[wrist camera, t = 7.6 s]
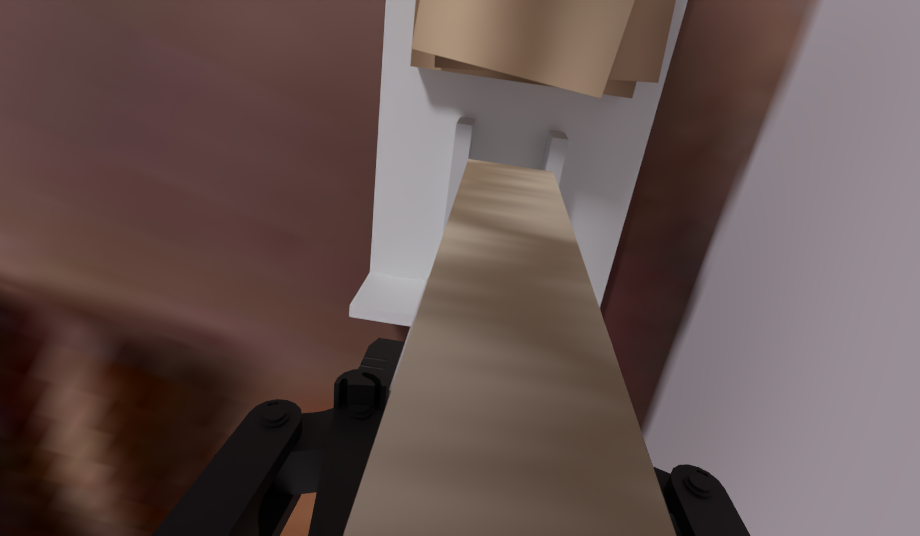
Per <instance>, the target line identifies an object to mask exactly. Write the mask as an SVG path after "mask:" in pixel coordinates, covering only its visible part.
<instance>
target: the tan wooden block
mask: <svg viewBox="0 0 920 536" xmlns="http://www.w3.org/2000/svg"><path fill="white" fill-rule="evenodd" d="M343 536H676V533H675V530H674V527H673V524H672V521H671V518H670V515H669V513H668V510H667V507H666V504H665V501H664V498H663V495H662V492H661V489H660V486H659V483H658V480H657V477H656V474H655V471H654V468H653V465H652V462H651V459H650V457H649V453H648V450H647V447H646V444H645V441H644V438H643V436H642V433H641V430H640V427H639V424H638V421H637V418H636V415H635V412H634V409H633V406H632V403H631V400H630V397H629V394H628V391H627V388H626V385H625V382H624V379H623V376H622V373H621V370H620V367H619V364H618V361H617V359H616V356H615V353H614V350H613V347H612V344H611V341H610V338H609V335H608V332H607V329H606V326H605V323H604V320H603V317H602V314H601V311H600V308H599V305H598V302H597V299H596V296H595V293H594V290H593V287H592V285H591V282H590V279H589V276H588V273H587V270H586V267H585V264H584V261H583V258H582V255H581V252H580V249H579V246H578V243H577V240H576V237H575V234H574V231H573V228H572V225H571V222H570V219H569V216H568V213H567V210H566V208H565V205H564V202H563V199H562V196H561V193H560V190H559V187H558V184H557V181H556V178H555V175H554V172H552V171H545V170H539V169H532V168H525V167H519V166H512V165H505V164H499V163H492V162H485V161H479V160H472V159H468V161H467V164H466V167H465V170H464V173H463V176H462V179H461V182H460V185H459V188H458V191H457V194H456V197H455V200H454V203H453V206H452V209H451V212H450V215H449V218H448V221H447V224H446V227H445V230H444V233H443V236H442V239H441V242H440V245H439V248H438V251H437V254H436V257H435V261H434V264H433V267H432V270H431V273H430V276H429V279H428V282H427V285H426V288H425V291H424V294H423V297H422V300H421V303H420V306H419V309H418V312H417V315H416V318H415V321H414V324H413V327H412V330H411V333H410V336H409V339H408V342H407V345H406V348H405V351H404V354H403V357H402V360H401V363H400V366H399V369H398V372H397V375H396V378H395V381H394V384H393V387H392V390H391V393H390V396H389V399H388V402H387V405H386V408H385V411H384V414H383V417H382V420H381V423H380V426H379V429H378V432H377V435H376V438H375V441H374V444H373V447H372V450H371V453H370V456H369V459H368V462H367V465H366V468H365V471H364V474H363V477H362V480H361V483H360V486H359V489H358V492H357V495H356V498H355V501H354V504H353V507H352V510H351V513H350V516H349V519H348V522H347V525H346V528H345V531H344V534H343Z"/></svg>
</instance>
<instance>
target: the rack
mask: <svg viewBox="0 0 920 536" xmlns="http://www.w3.org/2000/svg"><path fill="white" fill-rule="evenodd" d="M415 2H416V0H386V9H385V26H384V43H383V60H382V77H381V94H380V111H379V128H378V145H377V162H376V179H375V196H374V213H373V230H372V247H371V264H370V273H369V275H368V276H367V278H366V280H365V281H364V283H363V285H362V286H361V288H360V289H359V291H358V293H357V294H356V296H355V298H354V299H353V301H352V302H351V304H350V310H349V317H354V318H360V319H367V320H373V321H379V322H385V323H391V324H398V325H404V326H411V323H412V321H413V318H414V315H415V312H416V309H417V306H418V303H419V300H420V297H421V294H422V291H423V288H424V285H425V282H426V279H427V277H429V276H430V273H431V270H432V267H433V264H434V261H435V257H436V254H437V251H438V248H439V245H440V242H441V239H442V236H443V233H444V230H445V227H446V224H447V221H448V218H449V215H450V212H451V209H452V206H453V203H454V200H455V197H456V194H457V191H458V188H459V185H460V182H461V179H462V176H463V173H464V170H465V167H466V164H467V161H468V159H472V160H479V161H485V162H492V163H499V164H505V165H512V166H519V167H525V168H532V169H539V170H545V171H552V172H554V175H555V178H556V181H557V184H558V187H559V190H560V193H561V196H562V199H563V202H564V205H565V208H566V210H567V213H568V216H569V219H570V222H571V225H572V228H573V231H574V234H575V237H576V240H577V243H578V246H579V249H580V252H581V255H582V258H583V261H584V264H585V267H586V270H587V273H588V276H589V279H590V282H591V285H592V287H593V290H594V293H595V296H596V299H597V302H598V305H599V308H600V305H601V302H602V298H603V295H604V291H605V288H606V284H607V281H608V277H609V274H610V270H611V267H612V263H613V260H614V256H615V253H616V249H617V246H618V242H619V239H620V235H621V232H622V228H623V225H624V222H625V218H626V215H627V211H628V208H629V204H630V201H631V197H632V194H633V190H634V187H635V183H636V180H637V176H638V173H639V169H640V166H641V162H642V159H643V155H644V152H645V148H646V145H647V141H648V138H649V134H650V131H651V127H652V124H653V120H654V117H655V113H656V110H657V106H658V103H659V100H660V96H661V93H662V89H663V86H664V82H665V79H666V75H667V72H668V68H669V65H670V61H671V58H672V54H673V51H674V47H675V44H676V40H677V37H678V33H679V30H680V26H681V23H682V19H683V16H684V12H685V9H686V5H687V2H688V0H676V2H675V7H674V12H673V16H672V21H671V26H670V30H669V35H668V40H667V44H666V49H665V54H664V58H663V63H662V68H661V73H660V77H659V82H658V83H653V82H638V81H637V82H636V86H635V90H634V94H633V97H632V98H625V97H618V96H611V95H605V94H602V97H601V98H597V97H594V96H590V95H586V94H582V93H578V92H575V91H571V90H567V89H563V88H557V87H550V86H543V85H536V84H529V83H522V82H515V81H509V80H502V79H495V78H488V77H481V76H474V75H467V74H461V73H454V72H447V71H440V70H433V69H426V68H419V67H413V66H410V64H411V52H412V49H411V47H412V39H413V27H414V15H415ZM610 341H611V340H610ZM611 344H612V343H611ZM612 347H613V346H612Z"/></svg>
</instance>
